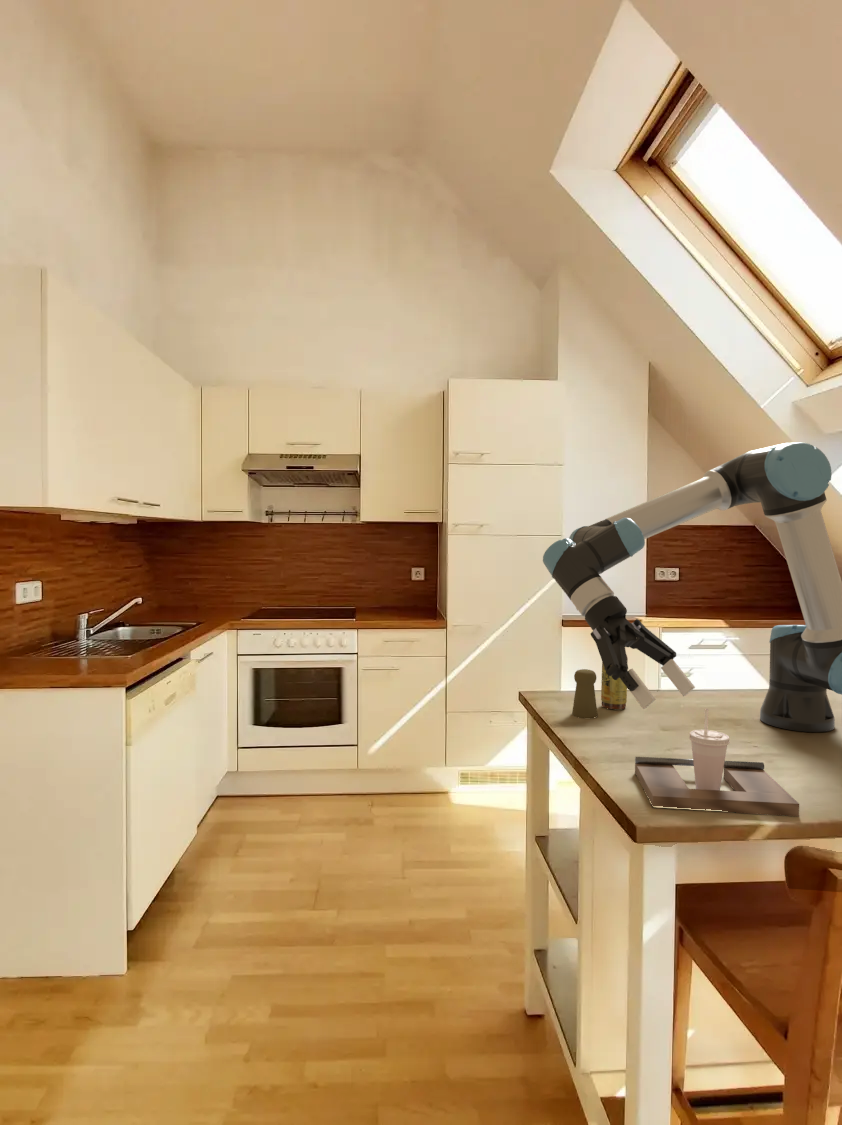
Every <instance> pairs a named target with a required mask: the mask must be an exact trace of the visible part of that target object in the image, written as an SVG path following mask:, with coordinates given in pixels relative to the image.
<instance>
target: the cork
mask: <svg viewBox="0 0 842 1125" xmlns="http://www.w3.org/2000/svg"><path fill="white" fill-rule="evenodd" d="M573 678H574V682H575V683H576V684H575V691H574V698H573V706H572V712H571V715H572V716H573V717H575V718H578V717H579V719H585V718H590V719H595V718H594V717H596V716H597V715H598V707H597V698H596V691H595V689H596V688H595V683H596V682H597V674H596V672H595V671H594V670H591V669H585V668H584V669H583V668H582V669H577V670H576V671H575V672H574V677H573ZM597 717H598V716H597ZM597 717H596V718H597Z"/></svg>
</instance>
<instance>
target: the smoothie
mask: <svg viewBox="0 0 842 1125" xmlns="http://www.w3.org/2000/svg"><path fill="white" fill-rule="evenodd" d="M703 727H704V728H703V729H693V730H691V731H689V737H688V739H689V740H690V744H691V752H692V759H693V763H694V766H693V772H694V781H695V789H702V790H721V786H722V780H723V775H724V762H725V761H726V755H727V749H728V746H729V745H730V736H729V735H728V734H727V733H724V732H720V731H716V730H711V729H709V709H708V708H705V709H704V726H703Z"/></svg>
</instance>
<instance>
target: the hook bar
mask: <svg viewBox="0 0 842 1125" xmlns="http://www.w3.org/2000/svg"><path fill="white" fill-rule="evenodd" d="M635 763H638V764H659V765H673V766H681V767H682V766H683V767H694V763H693V758H676V757H675V758H673V757H672V758H671V757H656V756H655V757H649V756H635V757H634V764H635ZM724 768H742V769H763V770H764V769H765V763H764V762H759V761H758V762H757V761H741V760H725V762H724ZM724 768H723V769H724ZM764 771H765V770H764Z"/></svg>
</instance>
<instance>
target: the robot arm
mask: <svg viewBox="0 0 842 1125" xmlns="http://www.w3.org/2000/svg"><path fill="white" fill-rule="evenodd" d="M831 480H832V467H831V463H830V461H829V458H828V457H827V456H826V454H825V453H824V452H823V451H822V450H821V449H820V448H818V447H817V446H814V445H813V444H810V443H808V442H802V441H801V442H800V441H799V442H798V441H797V442H785V443H784V442H783V443H779V444H775V445H771V446H766V447H763V448H757V449H753V450H749V451H747V452H745V453H742V454H740V455H738V456H736V457H734V458H733V459H730V460H728V461H726V462H724V463H722V464H720V465H718V466H716V467H714V468H711V469H708V470H707V471H706V472H704V474H703V477H702V478H699V479H698V480H695V481H692V482H690V483H688V484H685V485H683V486H681V487H677V489H674V490H671V491H669V492H667V493H665V494H662V495H660V496H657V497H654V498H651V499H650V500H647V501H645V502H643V503H641V504H638V505H636V506H633V507H630V508H628V509H625V510H623V511H621V512H619V513H617V514H614V515H612V516H609V517H607V518H605V519H603V520H600V521H597V522H595V523H593V524H590V525H585V526H581V527H577V528H576V529H574V530H573V531H572V532H571V533H570V535H569V537H566V538H563V539H558V540H557V541H555V542H554V543H552V544H551V545H550V546H549V547H548V548H546V550H545V551H544V553H543V555H542V563H543V564H544V566H545V568H546V569H547V570H548V572H549V574H550V576H551V578H552V579H554V581H555V582H556V583H557V584H558V586H559V587H560V589H562V591H563V592H564V593H565V595H566V596H567V597H568V599H569V600H570V601H571V602H572V604H573V605H574V606H575V610H576V611H578V612H579V613H580V615H581V616H582V617H584V621H585V622H586V623H587V625H588V626H589V627H590V629H591V630H592V631H591V633H590V636H591V639H593V641H594V643H595V645H596V647H597V651H598V653H599V655H600V659H601V663H602V662H603V665H604V668H605V671H606V673H607V675H609V676H612V678H613V679H614V680H617V679H618V678H620V679H621V680H622V682H623V683H624V684H625V686H626V687H627V690H628V691H629V692H630V694H632V696H633V698H635V700H636V701H637V702H638V704H639V705H640V707H641V708H642V709H643V710H644V709H647V708H648V707H649V706H650V705H651V704H653V703H654V702H655V701H656V700H657V699H656V698H655V696H654V695H653V694H652V692H651V691H650V689H648V687H647V685H646V684H645V683H644V682H643V680H642V679H641V678H640V677H639V675H638V674H637V673H636V671H635V670H634V669H633V668H630V669H629V665H628V662H627V658H628V656H627V657H626V655H627V652H626V648H630V649H632V650H635V649H636V650H638V651H639V652H641V653H642V654H644V655H646V656H647V657H649V659H652V660H653V661H655V662H656V663H658V664H659V665H661V667H660V669H661V670H662V671H663V673H664V674H665V675H666V676H667V678H668V679H669V680H670V681H671V682H672V684H673V685H674V687H675V688H676V689H677V690H678V691H679V693H680V694H681V696H682V697H685V696H687V695H688V694H689V693H691V692H692V691H693V690H694V689H695V688H696V686H695V685H694V684H693V682H692V681H691V680H690V678H688V676H687V675H686V674H685V673H684V671H683V670H682V669H681V668H680V667H679V665H678V664H677V662H676V661H675V660H674V659H675V658H676V657H677V652H676V651H675V650H674V649H673V648H671V647H670V646H669V645H668V644H667V643H665V642H664V641H662V639H661V638H659V637H658V636H656V635H655V633H653V632H652V631H651V630H650V629H648V628H647V627H646V626H645V625H644V624H643V622H641V621H640V620H639V619H638V618H636V619H634V621H632V622H631V621H629V620H628V619H627V617H626V615H627V613H628V612H627V611H628V609H627V607H626V605H624V604H623V602H622V601H621V600H620V598H619V597H617V596H616V595H615V593H614V590H612V589H611V587H610V585H608V584H607V583H606V581H605V580H604V579H603V578H602V576H601V574H602V573H604V572H606V571H608V570H609V569H611V568H613V567H615V566H616V565H619V564H620V563H622V562H624V561H625V560H627V559H629V558H630V557H631V558H632V557H633V556H634V555H635V554H637V553H639V552H640V551H642V549H643V548H644V547H645V545H646V542H645V541H646V539H649V538H650V537H653V536H656V535H657V534H660V533H662V532H665V531H667V530H669V529H673V528H675V527H677V526H679V525H681V524H685V523H687V522H689V521H690V520H691V521H692V520H693V519H696V518H698V517H700V516H703V515H705V514H707V513H709V512H712V511H715V510H720V511H727V510H728V509H731V508H735V507H737V506H741V505H748V504H754V503H760V506H761V508H762V512H763V514H764V517H765V518H767V519H769V520H772V521H773V522H774V524H775V527H776V529H777V533H778V536H779V540H780V542H781V546H782V549H783V554H784V556H785V560H786V563H787V565H788V566H787V567H788V570H789V573H790V577H791V580H792V583H793V587H794V589H795V593H796V596H797V600H798V603H799V606H800V610H801V613H802V617H803V620H804V623H805V624H778V625H774V626H773V627H772V628H771V630H770V638H769V644H770V646H769V647H770V648H769V675H768V676H769V683H768V690H767V692H766V694H765V697H764V700H763V702H762V704H761V706H760V709H759V711H760V712H759V720H760V721H762V722H763V723H764V724H767V725H770V726H772V727H775V728H779V729H783V730H789V731H797V732H803V733H804V732H807V733H823V732H830V731H833V730H834V729H835V723H836V722H835V720H836V719H835V716H834V713H833V709H832V706H831V704H830V700H829V697H828V693H827V692H828V691H827V690H829V691H833V692H834V693H836V694H838V695H842V577H841V575H840V571H839V567H838V564H837V561H836V557H835V554H834V551H833V547H832V544H831V540H830V537H829V534H828V530H827V527H826V523H825V520H824V517H823V514H822V508H823V507H824V506H825V504H826V502H827V497H826V491H827V489H828V487H829V486H830V483H829V482H830V481H831ZM611 664H613V665H612V666H611ZM627 670H628V671H627Z"/></svg>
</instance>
